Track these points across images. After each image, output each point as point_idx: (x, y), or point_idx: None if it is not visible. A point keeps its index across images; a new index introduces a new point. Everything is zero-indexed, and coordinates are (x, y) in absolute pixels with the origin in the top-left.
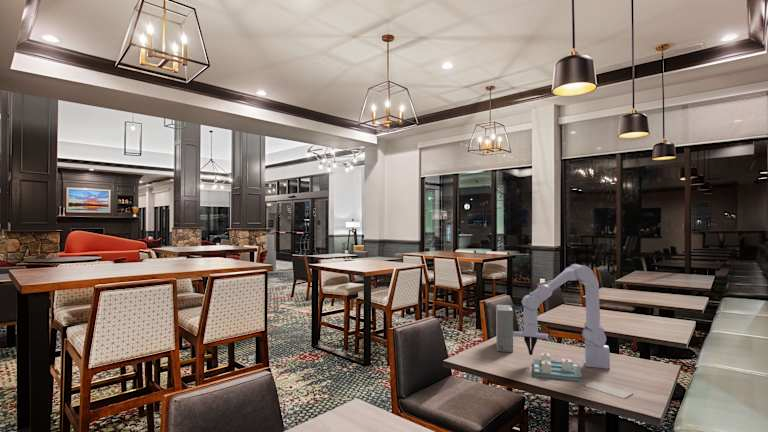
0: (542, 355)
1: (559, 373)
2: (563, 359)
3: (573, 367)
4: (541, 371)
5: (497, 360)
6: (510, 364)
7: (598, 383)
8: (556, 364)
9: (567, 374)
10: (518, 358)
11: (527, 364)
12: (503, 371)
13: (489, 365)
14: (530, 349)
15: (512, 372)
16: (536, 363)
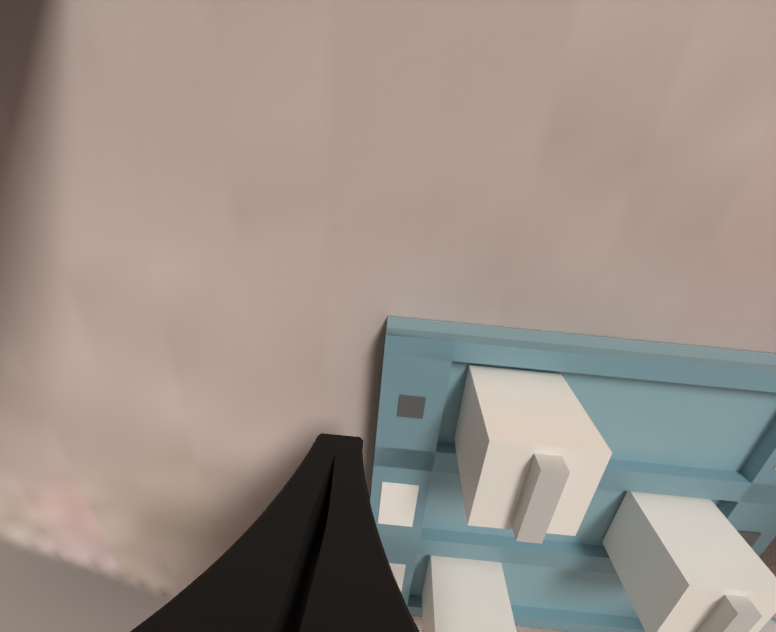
0: (481, 523)
1: (556, 575)
2: (692, 605)
3: (748, 495)
4: (425, 560)
5: (16, 316)
6: (169, 400)
7: (767, 625)
8: (617, 403)
9: (612, 583)
10: (212, 191)
11: (323, 373)
12: (155, 536)
13: (12, 450)
14: (323, 528)
15: (219, 543)
16: (404, 453)
